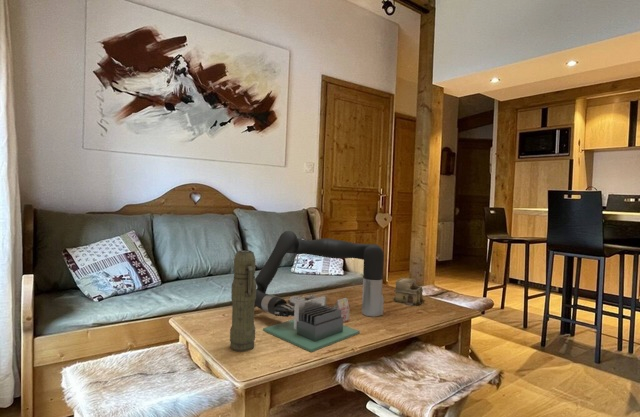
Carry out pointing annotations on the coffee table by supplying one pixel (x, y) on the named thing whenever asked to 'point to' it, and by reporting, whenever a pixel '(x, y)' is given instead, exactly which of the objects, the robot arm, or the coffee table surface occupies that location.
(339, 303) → the tea bag
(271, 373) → the coffee table surface
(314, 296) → the graphics card
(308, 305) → the silver metal plate
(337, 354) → the coffee table surface
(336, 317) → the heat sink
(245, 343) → the thermos
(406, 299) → the miniature house
